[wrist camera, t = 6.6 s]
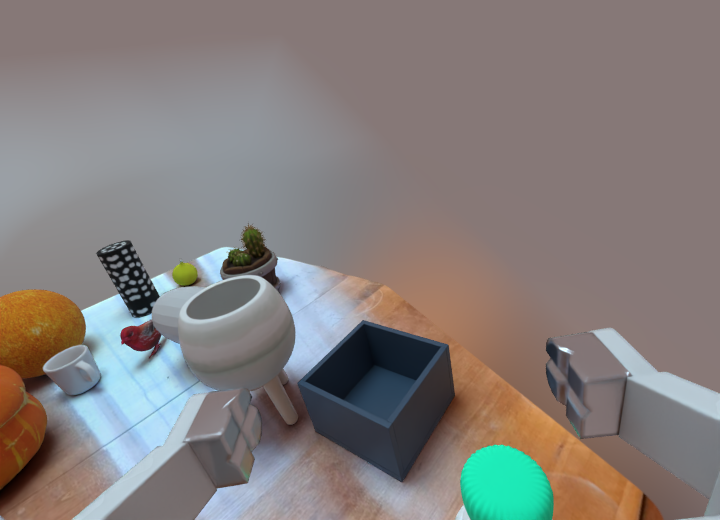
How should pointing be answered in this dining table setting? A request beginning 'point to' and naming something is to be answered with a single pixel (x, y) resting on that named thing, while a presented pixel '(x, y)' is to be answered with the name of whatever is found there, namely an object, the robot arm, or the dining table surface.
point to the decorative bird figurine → (141, 337)
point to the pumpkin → (18, 425)
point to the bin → (380, 395)
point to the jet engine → (171, 310)
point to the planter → (240, 338)
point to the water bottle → (504, 487)
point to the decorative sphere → (37, 329)
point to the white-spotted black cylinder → (129, 277)
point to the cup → (73, 370)
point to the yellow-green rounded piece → (184, 274)
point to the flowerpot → (251, 260)
